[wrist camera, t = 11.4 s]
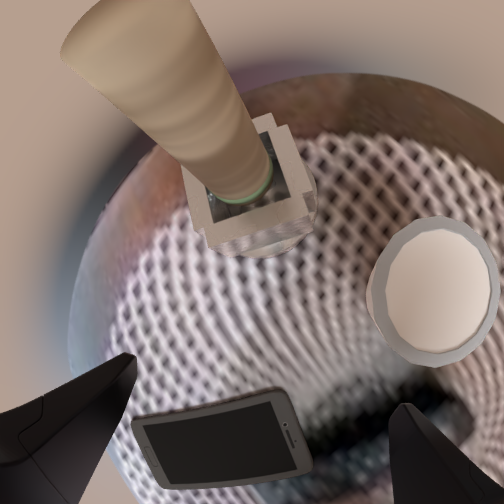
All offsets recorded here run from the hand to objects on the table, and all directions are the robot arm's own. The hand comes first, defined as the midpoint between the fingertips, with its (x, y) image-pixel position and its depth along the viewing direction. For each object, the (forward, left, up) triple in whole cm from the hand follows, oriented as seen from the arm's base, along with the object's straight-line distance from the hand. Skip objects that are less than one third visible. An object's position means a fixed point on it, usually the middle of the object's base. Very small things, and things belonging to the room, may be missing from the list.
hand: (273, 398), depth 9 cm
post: (+10, +3, -6) cm, 12 cm away
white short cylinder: (+4, -7, -11) cm, 13 cm away
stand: (+10, +3, -11) cm, 15 cm away
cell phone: (-9, +6, -11) cm, 16 cm away
